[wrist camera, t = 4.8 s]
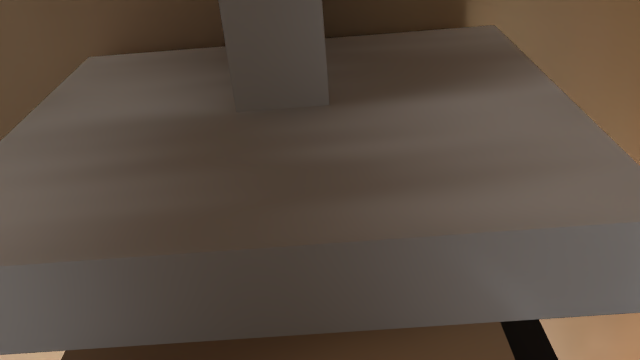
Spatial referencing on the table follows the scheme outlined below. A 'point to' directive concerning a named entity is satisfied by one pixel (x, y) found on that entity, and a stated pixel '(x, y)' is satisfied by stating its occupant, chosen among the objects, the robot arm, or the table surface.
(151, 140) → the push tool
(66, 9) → the table surface
